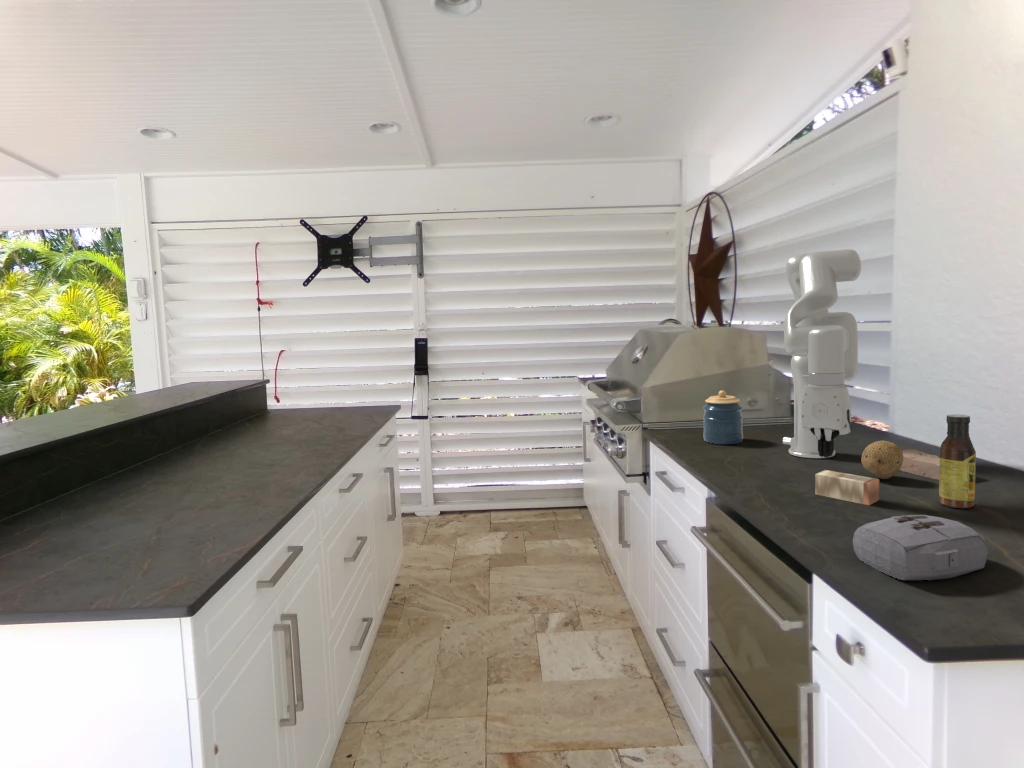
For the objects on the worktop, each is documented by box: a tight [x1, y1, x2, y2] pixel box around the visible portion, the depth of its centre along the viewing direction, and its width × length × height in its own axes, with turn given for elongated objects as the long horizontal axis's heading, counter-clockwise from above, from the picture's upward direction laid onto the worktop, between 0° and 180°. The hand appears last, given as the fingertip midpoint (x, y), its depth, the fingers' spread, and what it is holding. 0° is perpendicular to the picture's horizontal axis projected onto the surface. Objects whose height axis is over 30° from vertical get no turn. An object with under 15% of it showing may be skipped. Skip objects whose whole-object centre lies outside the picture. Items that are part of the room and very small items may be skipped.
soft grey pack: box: [852, 514, 991, 581], centre depth 101 cm, size 15×8×20 cm
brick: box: [898, 449, 940, 481], centre depth 152 cm, size 17×8×5 cm, turn 17°
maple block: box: [814, 469, 880, 506], centre depth 137 cm, size 5×5×12 cm
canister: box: [702, 389, 744, 445], centre depth 200 cm, size 13×13×18 cm
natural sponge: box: [860, 440, 903, 480], centre depth 148 cm, size 9×9×10 cm
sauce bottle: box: [938, 414, 977, 509], centre depth 127 cm, size 7×6×20 cm
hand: (825, 455), depth 140 cm, fingers closed
